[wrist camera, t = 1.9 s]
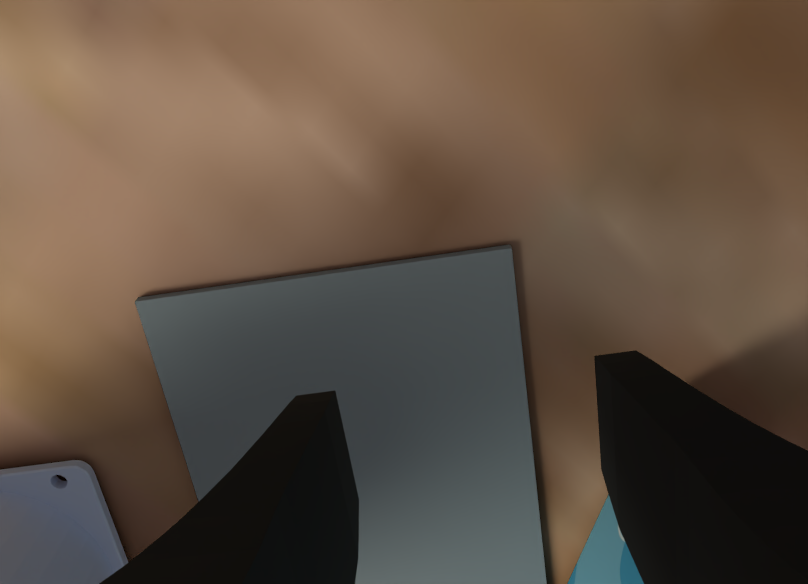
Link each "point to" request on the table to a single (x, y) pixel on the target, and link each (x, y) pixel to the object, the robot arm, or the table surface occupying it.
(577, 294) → the table surface
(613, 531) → the data package
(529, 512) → the mat
